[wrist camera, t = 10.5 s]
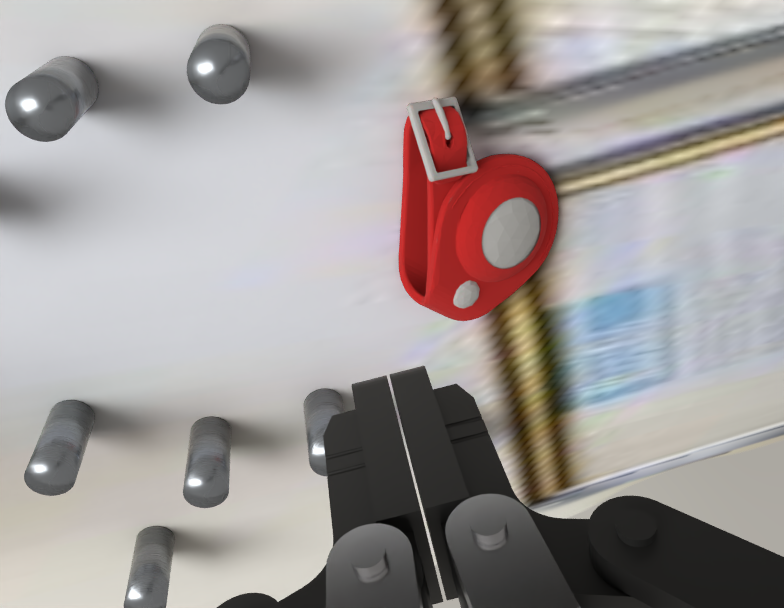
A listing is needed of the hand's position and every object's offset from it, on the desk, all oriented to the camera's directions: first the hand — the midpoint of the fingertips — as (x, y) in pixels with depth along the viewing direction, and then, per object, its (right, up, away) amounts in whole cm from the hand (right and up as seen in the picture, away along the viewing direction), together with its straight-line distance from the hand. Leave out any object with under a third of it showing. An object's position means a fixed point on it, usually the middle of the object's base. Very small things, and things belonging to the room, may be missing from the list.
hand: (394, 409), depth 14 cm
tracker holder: (+4, +8, +23) cm, 25 cm away
